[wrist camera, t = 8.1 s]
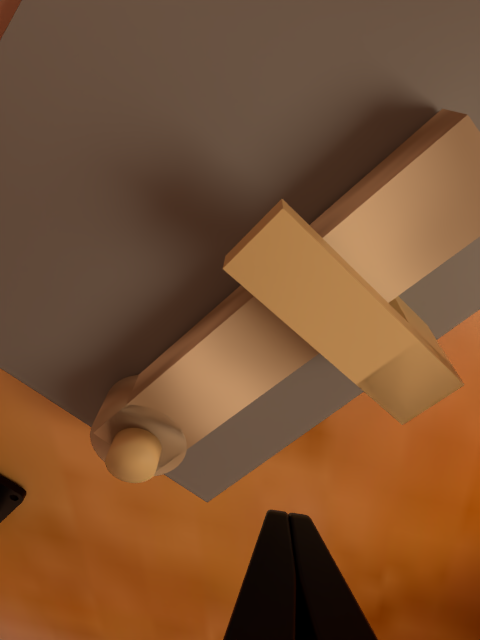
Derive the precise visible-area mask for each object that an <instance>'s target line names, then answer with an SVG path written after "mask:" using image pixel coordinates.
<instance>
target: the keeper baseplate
mask: <svg viewBox="0 0 480 640" xmlns="http://www.w3.org/2000/svg"><path fill="white" fill-rule="evenodd" d="M441 109H446V110H450V111H454V112H459V113H463V114H467V115H468V116H469V117H470V119H471V120H472V121H473V123H474V124H475V126H476V127H477V129H478V130H479V132H480V0H22V1H21V3H20V5H19V7H18V8H17V10H16V12H15V14H14V16H13V18H12V20H11V21H10V23H9V25H8V27H7V29H6V31H5V32H4V34H3V36H2V38H1V40H0V368H1V369H3V370H4V371H6V372H7V373H9V374H10V375H12V376H13V377H15V378H17V379H18V380H20V381H21V382H23V383H24V384H26V385H27V386H29V387H30V388H32V389H33V390H35V391H37V392H38V393H40V394H41V395H43V396H44V397H46V398H47V399H49V400H50V401H52V402H53V403H55V404H57V405H58V406H60V407H61V408H63V409H64V410H66V411H67V412H69V413H70V414H72V415H73V416H75V417H77V418H78V419H80V420H81V421H83V422H84V423H86V424H87V425H89V426H90V427H92V425H93V422H94V420H95V418H96V416H97V414H98V412H99V410H100V408H101V406H102V404H103V402H104V400H105V398H106V396H107V394H108V392H109V390H110V389H111V387H112V386H113V385H114V384H115V383H117V382H118V381H120V380H121V379H123V378H126V377H129V376H133V375H139V374H140V373H141V372H142V371H144V370H145V369H146V368H147V367H148V366H149V365H150V364H152V363H153V362H154V361H155V360H156V359H157V358H158V357H159V356H161V355H162V354H163V353H164V352H165V351H166V350H167V349H169V348H170V347H171V346H172V345H173V344H174V343H175V342H177V341H178V340H179V339H180V338H181V337H182V336H183V335H185V334H186V333H187V332H188V331H189V330H190V329H191V328H193V327H194V326H195V325H196V324H197V323H198V322H199V321H201V320H202V319H203V318H204V317H205V316H206V315H207V314H209V313H210V312H211V311H212V310H213V309H214V308H215V307H217V306H218V305H219V304H220V303H221V302H222V301H223V300H225V299H226V298H227V297H228V296H229V295H230V294H231V293H233V292H234V291H235V290H236V289H237V288H238V287H239V286H241V285H242V286H243V287H244V288H245V289H246V290H248V291H249V292H250V293H251V294H252V295H253V296H254V297H256V298H257V299H258V300H259V301H260V302H261V303H263V304H264V305H265V306H266V307H267V308H268V309H269V310H271V311H272V312H273V313H274V314H275V315H276V316H278V317H279V318H280V319H281V320H282V321H283V322H284V323H286V324H287V325H288V326H289V327H290V328H291V329H293V330H294V331H295V332H296V333H297V334H298V335H299V336H301V337H302V338H303V339H304V340H305V341H306V342H307V343H309V344H310V345H311V346H312V347H313V348H314V349H316V350H317V351H318V352H319V354H318V355H316V356H315V357H313V358H312V359H311V360H309V361H308V362H307V363H305V364H304V365H302V366H301V367H300V368H298V369H297V370H296V371H294V372H293V373H291V374H290V375H289V376H287V377H286V378H285V379H283V380H282V381H280V382H279V383H278V384H276V385H275V386H274V387H272V388H271V389H269V390H268V391H267V392H265V393H264V394H263V395H261V396H260V397H258V398H257V399H256V400H254V401H253V402H252V403H250V404H249V405H247V406H246V407H245V408H243V409H242V410H241V411H239V412H238V413H236V414H235V415H234V416H232V417H231V418H230V419H228V420H227V421H225V422H224V423H223V424H221V425H220V426H219V427H217V428H216V429H214V430H213V431H212V432H210V433H209V434H208V435H206V436H205V437H204V438H202V439H201V440H199V441H198V442H197V443H195V444H194V445H193V446H191V447H190V448H188V449H187V450H186V454H185V457H184V459H183V461H182V462H181V463H180V464H179V465H178V466H177V467H176V468H175V469H173V470H172V471H170V472H168V473H165V474H164V475H166V476H167V477H169V478H170V479H172V480H174V481H175V482H177V483H178V484H180V485H181V486H183V487H184V488H186V489H187V490H189V491H190V492H192V493H194V494H195V495H197V496H198V497H200V498H201V499H203V500H204V501H206V502H209V501H210V500H211V499H213V498H214V497H216V496H217V495H218V494H220V493H221V492H223V491H224V490H226V489H227V488H228V487H230V486H231V485H233V484H234V483H235V482H237V481H238V480H240V479H241V478H242V477H244V476H245V475H247V474H248V473H249V472H251V471H252V470H254V469H255V468H257V467H258V466H259V465H261V464H262V463H264V462H265V461H266V460H268V459H269V458H271V457H272V456H273V455H275V454H276V453H278V452H279V451H281V450H282V449H283V448H285V447H286V446H288V445H289V444H290V443H292V442H293V441H295V440H296V439H297V438H299V437H300V436H302V435H303V434H304V433H306V432H307V431H309V430H310V429H312V428H313V427H314V426H316V425H317V424H319V423H320V422H321V421H323V420H324V419H326V418H327V417H328V416H330V415H331V414H333V413H334V412H336V411H337V410H338V409H340V408H341V407H343V406H344V405H345V404H347V403H348V402H350V401H351V400H352V399H354V398H355V397H357V396H358V395H359V394H361V393H362V392H365V393H366V394H367V395H369V396H370V397H371V398H372V399H373V400H374V401H375V402H377V403H378V404H379V405H380V406H381V407H382V408H383V409H385V410H386V411H387V412H388V413H389V414H390V415H392V416H393V417H394V418H395V419H396V420H397V421H398V422H400V423H401V424H402V425H403V424H405V423H407V422H408V421H410V420H411V419H413V418H414V417H416V416H417V415H419V414H421V413H422V412H424V411H425V410H427V409H428V408H430V407H431V406H433V405H434V404H436V403H438V402H439V401H441V400H442V399H444V398H445V397H447V396H448V395H450V394H452V393H453V392H455V391H456V390H458V389H459V388H461V387H462V386H464V383H463V382H462V380H461V379H460V377H459V375H458V374H457V372H456V371H455V369H454V367H453V366H452V364H451V362H450V361H449V359H448V358H447V356H446V354H445V353H444V351H443V350H442V348H441V346H440V345H439V343H438V341H437V339H438V338H440V337H441V336H443V335H444V334H445V333H447V332H448V331H450V330H451V329H453V328H454V327H455V326H457V325H458V324H460V323H461V322H462V321H464V320H465V319H467V318H468V317H469V316H471V315H472V314H474V313H475V312H477V311H478V310H479V309H480V237H478V238H477V239H476V240H474V241H473V242H472V243H470V244H469V245H467V246H466V247H465V248H463V249H462V250H461V251H459V252H458V253H456V254H455V255H454V256H452V257H451V258H450V259H448V260H447V261H445V262H444V263H443V264H441V265H440V266H439V267H437V268H436V269H434V270H433V271H432V272H430V273H429V274H428V275H426V276H425V277H423V278H422V279H421V280H419V281H418V282H417V283H415V284H414V285H412V286H411V287H410V288H408V289H407V290H406V291H404V292H403V293H401V294H400V295H399V296H397V297H396V298H395V299H393V300H392V301H390V302H389V303H388V302H387V301H386V300H385V299H384V298H383V297H382V296H381V295H380V294H379V293H378V292H377V291H376V290H375V289H374V288H373V287H372V286H371V285H370V284H368V283H367V282H366V281H365V280H364V279H363V278H362V277H361V276H360V275H359V274H358V273H357V272H356V271H355V270H354V269H353V268H352V267H351V266H350V265H349V264H348V263H347V262H346V261H345V260H344V259H343V258H342V257H341V256H340V255H339V254H338V253H337V252H336V251H335V250H334V249H333V248H332V247H331V246H330V245H329V244H328V243H327V242H326V241H325V240H324V239H323V238H322V237H321V236H320V235H319V234H318V233H317V232H316V231H315V230H314V229H313V228H312V227H311V226H310V224H311V223H312V222H314V221H315V220H316V219H317V218H318V217H319V216H320V215H322V214H323V213H324V212H325V211H326V210H327V209H328V208H330V207H331V206H332V205H333V204H334V203H335V202H336V201H337V200H339V199H340V198H341V197H342V196H343V195H344V194H345V193H347V192H348V191H349V190H350V189H351V188H352V187H353V186H355V185H356V184H357V183H358V182H359V181H360V180H361V179H363V178H364V177H365V176H366V175H367V174H368V173H369V172H371V171H372V170H373V169H374V168H375V167H376V166H377V165H379V164H380V163H381V162H382V161H383V160H384V159H385V158H387V157H388V156H389V155H390V154H391V153H392V152H393V151H395V150H396V149H397V148H398V147H399V146H400V145H401V144H403V143H404V142H405V141H406V140H407V139H408V138H409V137H411V136H412V135H413V134H414V133H415V132H416V131H417V130H419V129H420V128H421V127H422V126H423V125H424V124H425V123H426V122H428V121H429V120H430V119H431V118H432V117H433V116H434V115H436V114H437V113H438V112H439V111H440V110H441ZM161 450H162V447H161V443H160V441H159V440H158V438H157V437H156V436H155V435H153V434H152V433H150V432H149V431H147V430H144V429H140V428H127V429H123V430H121V431H119V432H118V433H117V434H116V435H115V437H114V439H113V442H112V444H111V446H110V449H109V451H108V454H107V456H106V459H105V464H106V467H107V469H108V471H109V472H110V473H111V474H112V475H113V476H115V477H116V478H118V479H120V480H122V481H125V482H130V483H141V482H145V481H147V480H149V479H151V478H152V477H153V476H154V474H155V472H156V469H157V465H158V462H159V458H160V454H161Z"/></svg>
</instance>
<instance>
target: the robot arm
mask: <svg viewBox="0 0 480 640" xmlns="http://www.w3.org/2000/svg"><path fill="white" fill-rule="evenodd" d="M25 496H26V491H25V490H24V489H23V488H22V487H20V486H18V485H16V484H15V483H13V482H11V481H9V480H8V479H6V478H4V477H2V476H0V523H1V522H2V521H3V520H4V519H5V518H6V517H7V516H8V515H9V514H10V513H11V512H12V511H13V510H14V509H15V508H16V507H17V506H19V505H20V504H21V503H22V501H23V500H24V498H25ZM223 640H378V639H377V637H376V635H375V633H374V632H373V630H372V628H371V626H370V624H369V623H368V621H367V619H366V617H365V615H364V614H363V612H362V610H361V608H360V606H359V605H358V603H357V601H356V599H355V597H354V596H353V594H352V592H351V590H350V588H349V587H348V585H347V583H346V581H345V579H344V578H343V576H342V574H341V572H340V570H339V568H338V567H337V565H336V563H335V561H334V559H333V558H332V556H331V554H330V552H329V550H328V549H327V547H326V545H325V543H324V541H323V540H322V538H321V536H320V534H319V532H318V531H317V529H316V527H315V525H314V523H313V522H312V520H311V518H310V517H309V516H307V515H303V514H297V513H289V514H287V513H286V512H283V511H276V510H268V511H267V513H266V516H265V519H264V522H263V525H262V528H261V531H260V534H259V537H258V540H257V543H256V545H255V548H254V551H253V554H252V557H251V560H250V563H249V566H248V569H247V572H246V575H245V578H244V580H243V583H242V586H241V589H240V592H239V595H238V598H237V601H236V604H235V607H234V610H233V613H232V615H231V618H230V621H229V624H228V627H227V630H226V633H225V636H224V639H223Z"/></svg>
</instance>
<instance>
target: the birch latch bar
mask: <svg viewBox="0 0 480 640" xmlns="http://www.w3.org/2000/svg"><path fill="white" fill-rule="evenodd" d="M310 226H311V227H312V228H313V229H314V230H315V231H316V232H317V233H318V234H319V235H320V236H321V237H322V238H323V239H324V240H325V241H326V242H327V243H328V244H329V245H330V246H331V247H332V248H333V249H334V250H335V251H336V252H337V253H338V254H339V255H340V256H341V257H342V258H343V259H344V260H345V261H346V262H347V263H348V264H349V265H350V266H351V267H352V268H353V269H354V270H355V271H356V272H357V273H358V274H359V275H360V276H361V277H362V278H363V279H364V280H365V281H366V282H367V283H368V284H370V285H371V286H372V287H373V288H374V289H375V290H376V291H377V292H378V293H379V294H380V295H381V296H382V297H383V298H384V299H385V300H386V301H387V302H388V303H389V302H390V301H392V300H393V299H395V298H396V297H397V296H399V295H400V294H401V293H403V292H404V291H406V290H407V289H408V288H410V287H411V286H412V285H414V284H415V283H417V282H418V281H419V280H421V279H422V278H423V277H425V276H426V275H428V274H429V273H430V272H432V271H433V270H434V269H436V268H437V267H439V266H440V265H441V264H443V263H444V262H445V261H447V260H448V259H450V258H451V257H452V256H454V255H455V254H456V253H458V252H459V251H461V250H462V249H463V248H465V247H466V246H467V245H469V244H470V243H472V242H473V241H474V240H476V239H477V238H478V237H480V132H479V130H478V129H477V127H476V126H475V124H474V123H473V121H472V120H471V119H470V117H469V116H468V115H467V114H463V113H459V112H454V111H450V110H446V109H441V110H440V111H439V112H438V113H437V114H436V115H434V116H433V117H432V118H431V119H430V120H429V121H428V122H426V123H425V124H424V125H423V126H422V127H421V128H420V129H419V130H417V131H416V132H415V133H414V134H413V135H412V136H411V137H409V138H408V139H407V140H406V141H405V142H404V143H403V144H401V145H400V146H399V147H398V148H397V149H396V150H395V151H393V152H392V153H391V154H390V155H389V156H388V157H387V158H385V159H384V160H383V161H382V162H381V163H380V164H379V165H377V166H376V167H375V168H374V169H373V170H372V171H371V172H369V173H368V174H367V175H366V176H365V177H364V178H363V179H361V180H360V181H359V182H358V183H357V184H356V185H355V186H353V187H352V188H351V189H350V190H349V191H348V192H347V193H345V194H344V195H343V196H342V197H341V198H340V199H339V200H337V201H336V202H335V203H334V204H333V205H332V206H331V207H330V208H328V209H327V210H326V211H325V212H324V213H323V214H322V215H320V216H319V217H318V218H317V219H316V220H315V221H314V222H312V223H311V224H310ZM318 354H319V352H318V351H317V350H316V349H314V348H313V347H312V346H311V345H310V344H309V343H307V342H306V341H305V340H304V339H303V338H302V337H301V336H299V335H298V334H297V333H296V332H295V331H294V330H293V329H291V328H290V327H289V326H288V325H287V324H286V323H284V322H283V321H282V320H281V319H280V318H279V317H278V316H276V315H275V314H274V313H273V312H272V311H271V310H269V309H268V308H267V307H266V306H265V305H264V304H263V303H261V302H260V301H259V300H258V299H257V298H256V297H254V296H253V295H252V294H251V293H250V292H249V291H248V290H246V289H245V288H244V287H243V286H242V285H241V286H239V287H238V288H237V289H236V290H235V291H234V292H233V293H231V294H230V295H229V296H228V297H227V298H226V299H225V300H223V301H222V302H221V303H220V304H219V305H218V306H217V307H215V308H214V309H213V310H212V311H211V312H210V313H209V314H207V315H206V316H205V317H204V318H203V319H202V320H201V321H199V322H198V323H197V324H196V325H195V326H194V327H193V328H191V329H190V330H189V331H188V332H187V333H186V334H185V335H183V336H182V337H181V338H180V339H179V340H178V341H177V342H175V343H174V344H173V345H172V346H171V347H170V348H169V349H167V350H166V351H165V352H164V353H163V354H162V355H161V356H159V357H158V358H157V359H156V360H155V361H154V362H153V363H152V364H150V365H149V366H148V367H147V368H146V369H145V370H144V371H142V372H141V373H140V374H139V375H133V376H129V377H126V378H123V379H121V380H120V381H118V382H117V383H115V384H114V385H113V386H112V387H111V389H110V390H109V392H108V394H107V396H106V398H105V400H104V402H103V404H102V406H101V408H100V410H99V412H98V414H97V416H96V418H95V420H94V422H93V425H92V427H91V431H90V438H91V443H92V446H93V448H94V450H95V451H96V453H97V454H98V456H99V457H100V458H101V459H102V460H103V461H104V462H105V459H106V456H107V454H108V451H109V449H110V446H111V444H112V442H113V439H114V437H115V435H116V434H117V433H118V432H119V431H121V430H123V429H127V428H140V429H144V430H147V431H149V432H150V433H152V434H153V435H155V436H156V437H157V438H158V440H159V441H160V443H161V447H162V450H161V454H160V458H159V462H158V465H157V469H156V472H155V474H154V476H158V475H162V474H165V473H168V472H170V471H172V470H173V469H175V468H176V467H177V466H178V465H179V464H180V463H181V462H182V461H183V459H184V457H185V454H186V450H187V449H188V448H190V447H191V446H193V445H194V444H195V443H197V442H198V441H199V440H201V439H202V438H204V437H205V436H206V435H208V434H209V433H210V432H212V431H213V430H214V429H216V428H217V427H219V426H220V425H221V424H223V423H224V422H225V421H227V420H228V419H230V418H231V417H232V416H234V415H235V414H236V413H238V412H239V411H241V410H242V409H243V408H245V407H246V406H247V405H249V404H250V403H252V402H253V401H254V400H256V399H257V398H258V397H260V396H261V395H263V394H264V393H265V392H267V391H268V390H269V389H271V388H272V387H274V386H275V385H276V384H278V383H279V382H280V381H282V380H283V379H285V378H286V377H287V376H289V375H290V374H291V373H293V372H294V371H296V370H297V369H298V368H300V367H301V366H302V365H304V364H305V363H307V362H308V361H309V360H311V359H312V358H313V357H315V356H316V355H318Z"/></svg>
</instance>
